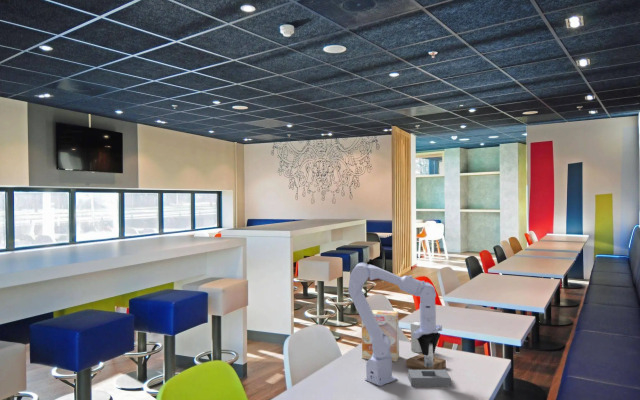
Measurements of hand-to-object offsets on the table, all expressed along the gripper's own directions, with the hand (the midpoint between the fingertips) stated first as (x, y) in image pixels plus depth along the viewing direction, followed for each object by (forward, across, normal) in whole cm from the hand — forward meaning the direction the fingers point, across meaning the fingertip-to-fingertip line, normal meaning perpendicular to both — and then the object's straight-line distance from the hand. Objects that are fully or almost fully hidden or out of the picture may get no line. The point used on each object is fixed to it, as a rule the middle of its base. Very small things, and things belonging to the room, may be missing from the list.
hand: (428, 353), depth 171 cm
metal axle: (+4, 0, 0) cm, 4 cm away
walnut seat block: (+10, +11, +10) cm, 18 cm away
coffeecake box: (+11, +6, +30) cm, 32 cm away
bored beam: (+10, 0, 0) cm, 10 cm away
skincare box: (+11, +25, +25) cm, 37 cm away
